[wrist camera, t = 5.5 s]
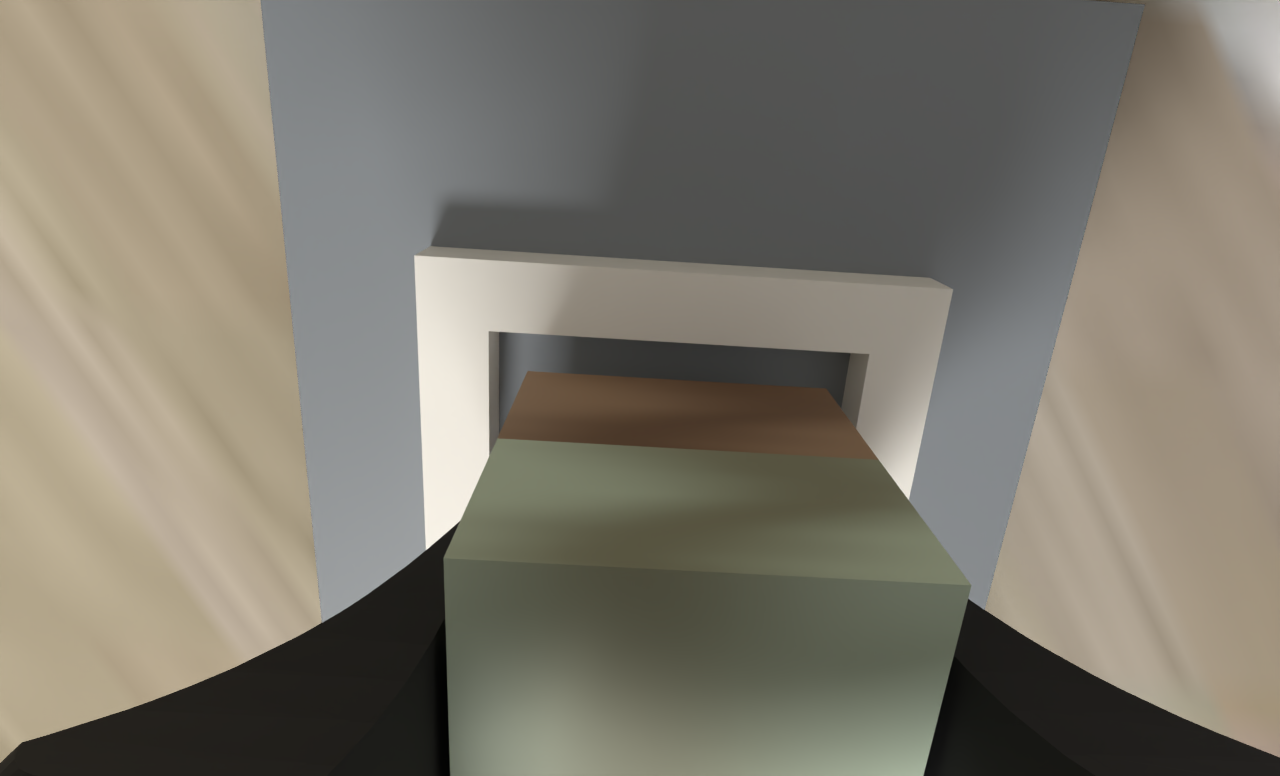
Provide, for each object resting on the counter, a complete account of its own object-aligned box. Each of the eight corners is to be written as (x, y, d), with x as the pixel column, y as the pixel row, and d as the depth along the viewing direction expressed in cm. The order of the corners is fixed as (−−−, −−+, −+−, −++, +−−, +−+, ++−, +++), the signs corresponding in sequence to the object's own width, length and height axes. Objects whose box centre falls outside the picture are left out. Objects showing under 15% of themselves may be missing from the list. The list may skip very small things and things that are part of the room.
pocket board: (1099, 15, 13) (1190, -7, 11) (907, 793, 19) (941, 875, 17) (289, -44, 12) (219, -80, 10) (359, 768, 18) (323, 850, 16)
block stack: (826, 388, 12) (971, 585, 7) (786, 634, 14) (880, 945, 9) (527, 371, 12) (442, 558, 7) (524, 622, 14) (455, 929, 8)
